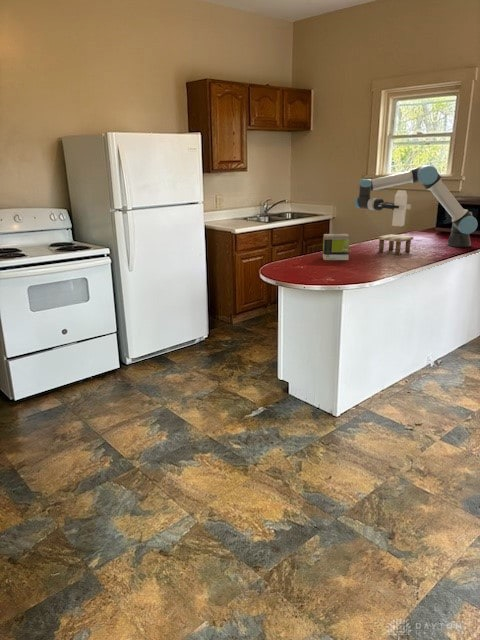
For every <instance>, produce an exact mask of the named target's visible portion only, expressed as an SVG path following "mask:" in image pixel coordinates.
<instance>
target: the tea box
mask: <svg viewBox="0 0 480 640" xmlns="http://www.w3.org/2000/svg"><path fill="white" fill-rule="evenodd" d="M322 237H323V238H322V240H323V241H322V258H323V260H324V261H349V260H350V259H349V257H350V256H349V255H350V238H351V237H350V235H349V234H348V233H324V234H323V236H322Z"/></svg>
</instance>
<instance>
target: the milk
mask: <svg viewBox="0 0 480 640" xmlns="http://www.w3.org/2000/svg"><path fill="white" fill-rule="evenodd" d="M393 203H394V206H395V205H405V207H404V210H400V209H394V210H392V211H393V212H392V222H391V226H392V227H393V226H394V227H403V226H405V221H406V213H407V209H406V205H407V204H408V193H407V190H400V189H398V190H397V192H396V193H395V195H394V201H393Z"/></svg>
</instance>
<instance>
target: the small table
mask: <svg viewBox="0 0 480 640" xmlns="http://www.w3.org/2000/svg"><path fill="white" fill-rule="evenodd" d="M377 240H379V243H378V252H377V253H384V248H385V247H384V246H385V241H389V242H388V250H389V251H394V255H395V256H400V255H401V249H402V248H401V245H402V243H403V242H405V246H404V247H405V248H404V253H405V252H406V254H407V253H409V252H411V244H412V243H411V242H412V240H414V236H409V235H408V236H407V235H401V234H392V233H390V234H385V235H384V234H383V235H380V236H377ZM394 245H395V249H394ZM409 254H410V253H409Z"/></svg>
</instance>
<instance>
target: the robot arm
mask: <svg viewBox="0 0 480 640" xmlns="http://www.w3.org/2000/svg"><path fill="white" fill-rule="evenodd" d="M442 178H443V177H442V175H440V173H439V172H438V169H437V168H436V167H435V166H433V165H431V164H422V165H419V166H417V167H415V168H414V167H413V168H410V169H409V170H407V171H404V172H398V173H395V174H391V175H385V176H381V177H377V178H376V177H375V178H372V179H370V178H362V179H360V180H359V184H358V190H359V192H358V196H357V197H355V199H354V207H355V208H358V209H363V210H370V211H382V210H383V209H386V210H387V209H390V210H391V211H394V209H400V210H404V207H405V205H395V206H394V202H390V201H384V199H383V198H376V197H371V194H372V193H371V191H376V190H382V189H386V188H390V187H395V186H401V185H405V184H408V183H409V184H410V183H411V184H418V183H420V184H421V186H423V187H424V189H425V190H426V191H430V192H431V193H432V194H433V196H434V197H435V199H436V200H437V201H438V202H439V204H440V205H441V206H442V207H443V208H444V209H445V211H446V212H447V213H448V215H450V217H451V222H452V225H451V231H450V235H449V238H448V239H447V241H446V246H450V247H454V248H455V247H456V248H457V247H458V248H468V247H471V238H470V237H471V236H470V235H471V234H472V233H474V232H475V231H476V230H477V228H478V225H479V224H478V220H477V219H476V217H474V216H473V212H472V211H469V210H468V209H465V208H463V207H462V205H461V204H460V203H459V201H458V200H457V199H456V198H455V196H454V195H453V193H451V191H450V190H449V188H447V186H446V185H445V184H444V183H443V182H442ZM411 207H412V204H408V203H407V205H406V210H411V209H412V208H411Z"/></svg>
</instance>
